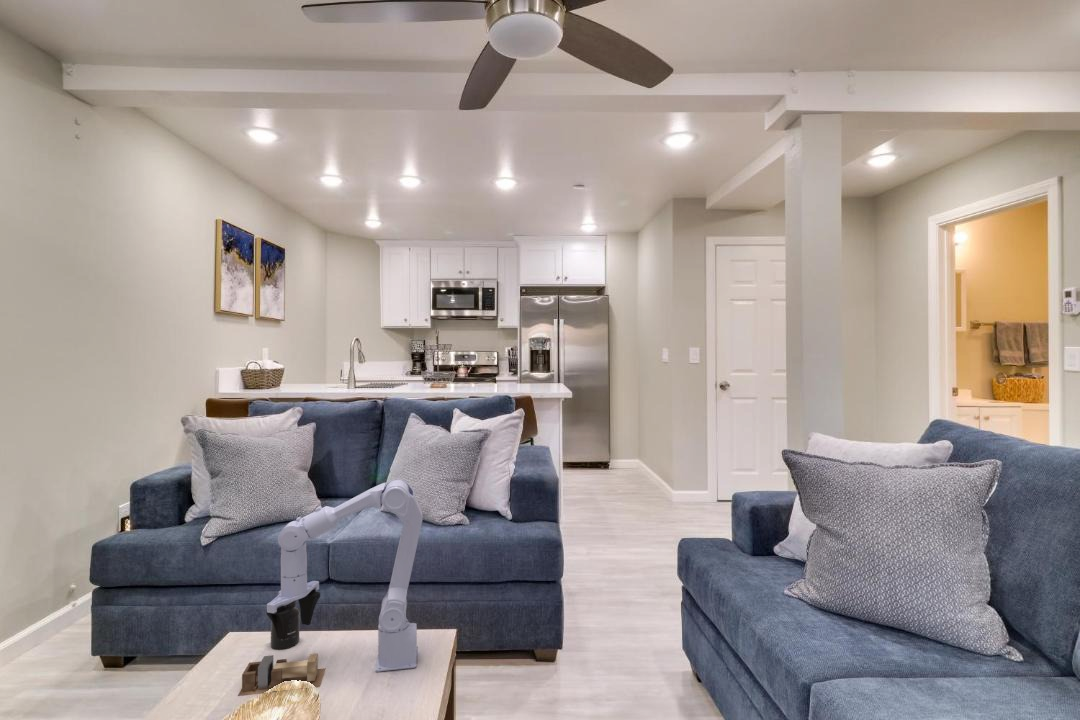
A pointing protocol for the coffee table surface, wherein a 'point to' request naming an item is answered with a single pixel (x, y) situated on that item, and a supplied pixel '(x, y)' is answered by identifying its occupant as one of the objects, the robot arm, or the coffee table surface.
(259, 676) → the collar
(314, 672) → the shaft
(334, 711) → the coffee table surface
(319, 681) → the jig
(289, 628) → the supplement bottle
